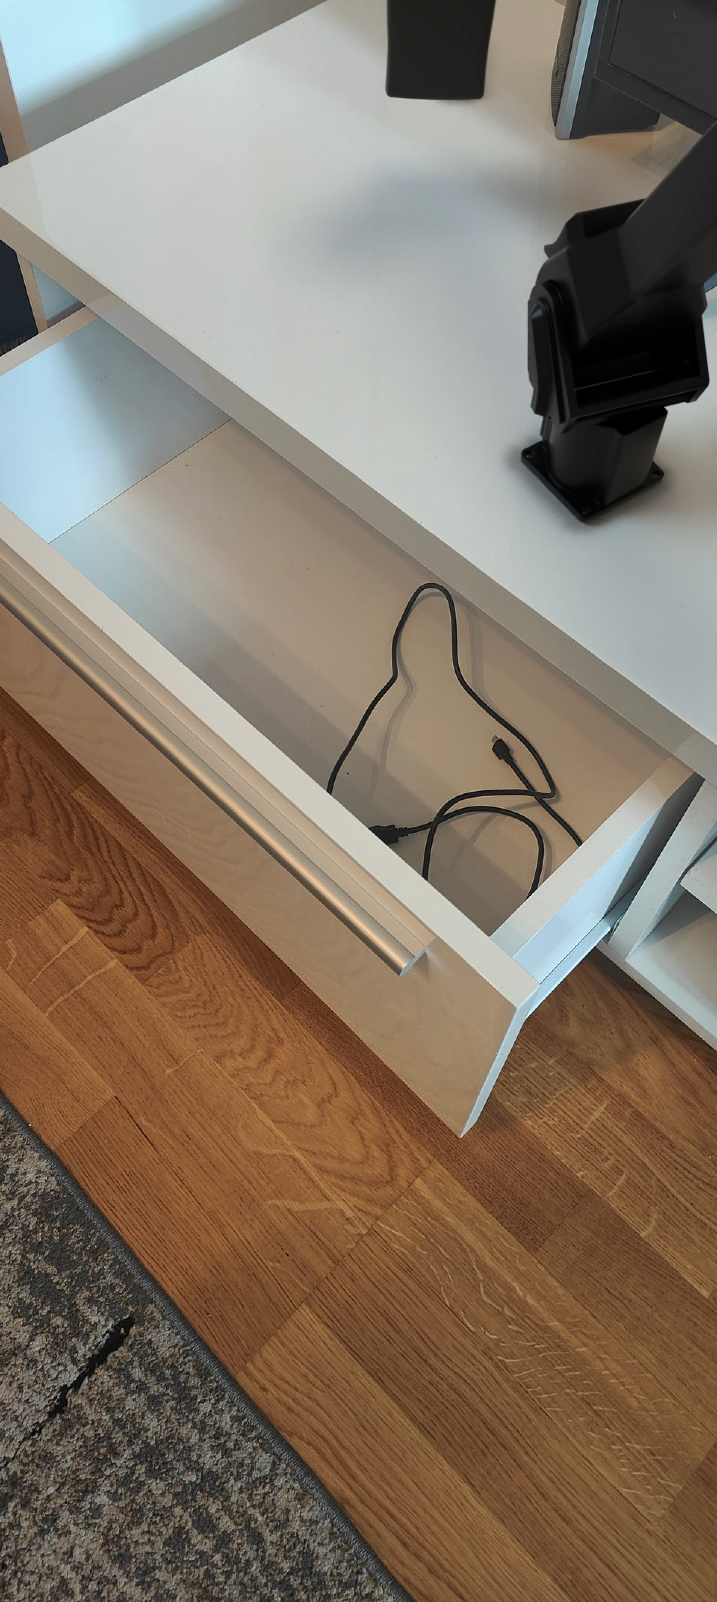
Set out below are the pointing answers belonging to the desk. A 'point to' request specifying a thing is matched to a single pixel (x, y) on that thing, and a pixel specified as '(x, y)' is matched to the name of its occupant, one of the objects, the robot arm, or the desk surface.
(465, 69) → the battery charger
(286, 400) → the desk surface
